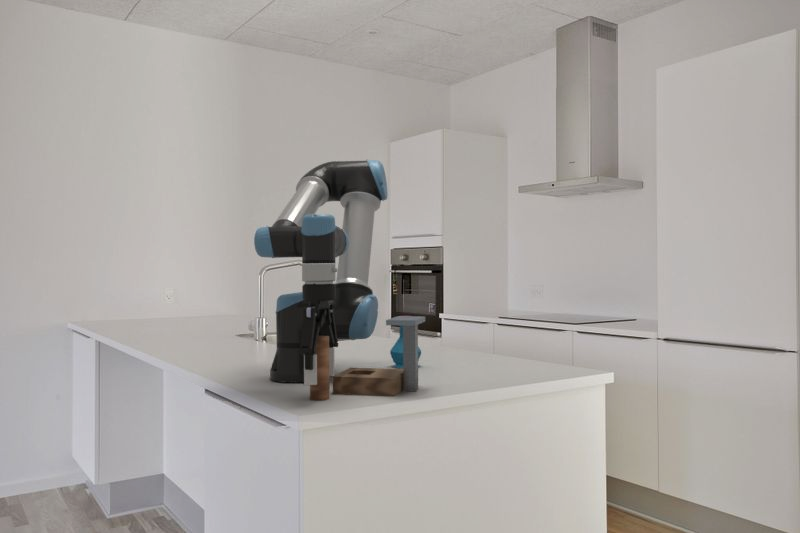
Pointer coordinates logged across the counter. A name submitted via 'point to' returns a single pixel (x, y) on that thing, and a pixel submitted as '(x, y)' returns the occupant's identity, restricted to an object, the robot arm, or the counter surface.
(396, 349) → the perfume bottle
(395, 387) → the socket board
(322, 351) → the peg
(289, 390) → the counter surface
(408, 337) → the grey t-shaped block
